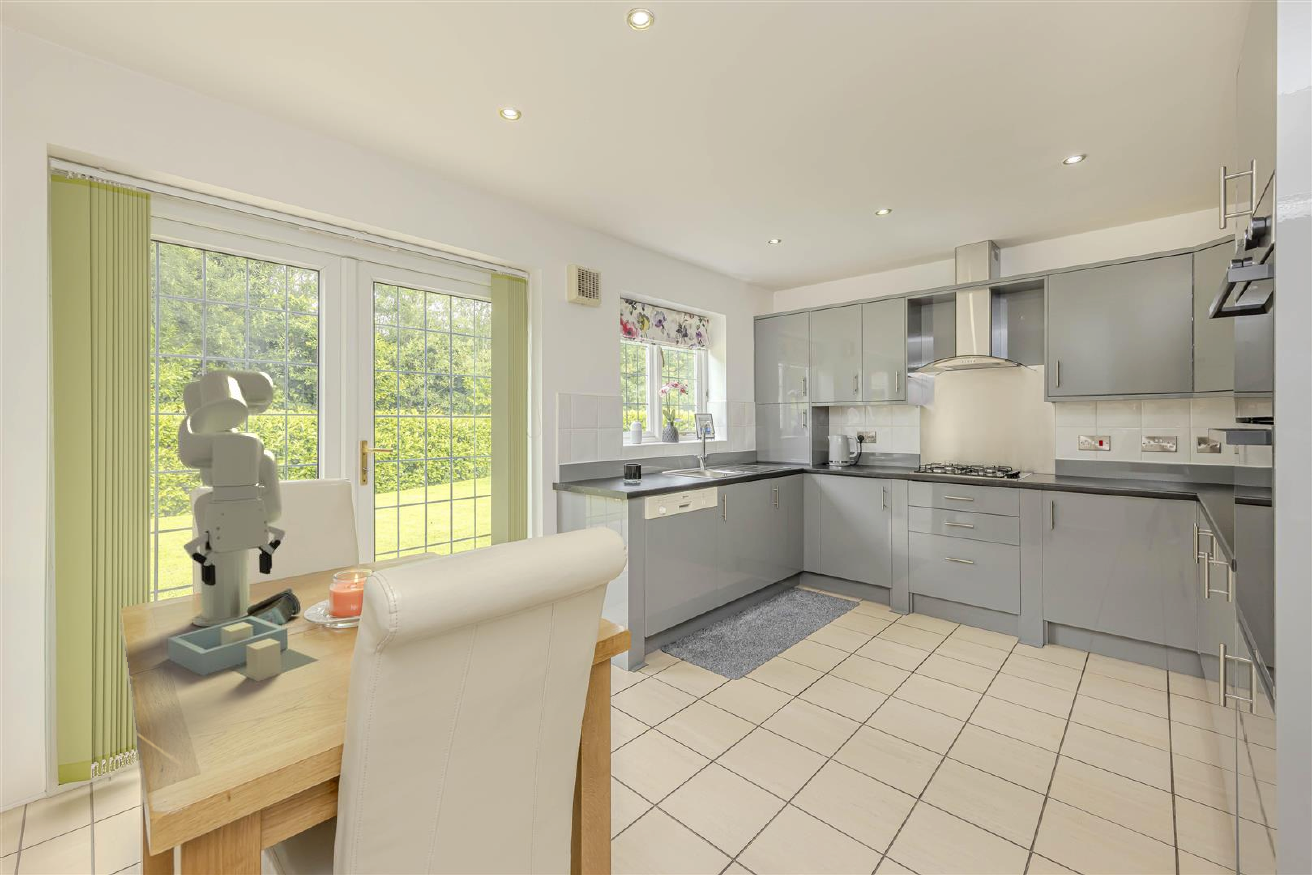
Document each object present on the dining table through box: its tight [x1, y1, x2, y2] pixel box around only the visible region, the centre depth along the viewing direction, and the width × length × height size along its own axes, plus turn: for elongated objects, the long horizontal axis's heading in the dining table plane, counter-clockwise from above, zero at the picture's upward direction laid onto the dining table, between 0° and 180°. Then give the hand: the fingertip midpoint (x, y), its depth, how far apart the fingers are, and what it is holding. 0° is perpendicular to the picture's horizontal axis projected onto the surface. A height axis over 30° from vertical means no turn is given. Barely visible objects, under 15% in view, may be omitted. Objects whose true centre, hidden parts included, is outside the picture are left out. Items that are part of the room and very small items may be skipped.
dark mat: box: [228, 648, 318, 682], centre depth 112 cm, size 11×11×1 cm
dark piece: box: [247, 588, 301, 626], centre depth 137 cm, size 10×7×12 cm
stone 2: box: [246, 638, 282, 682], centre depth 108 cm, size 4×4×6 cm
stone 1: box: [221, 622, 253, 645], centre depth 116 cm, size 4×4×6 cm
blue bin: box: [167, 616, 289, 677], centre depth 118 cm, size 15×15×4 cm
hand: (238, 578), depth 114 cm, fingers open, 9 cm apart
